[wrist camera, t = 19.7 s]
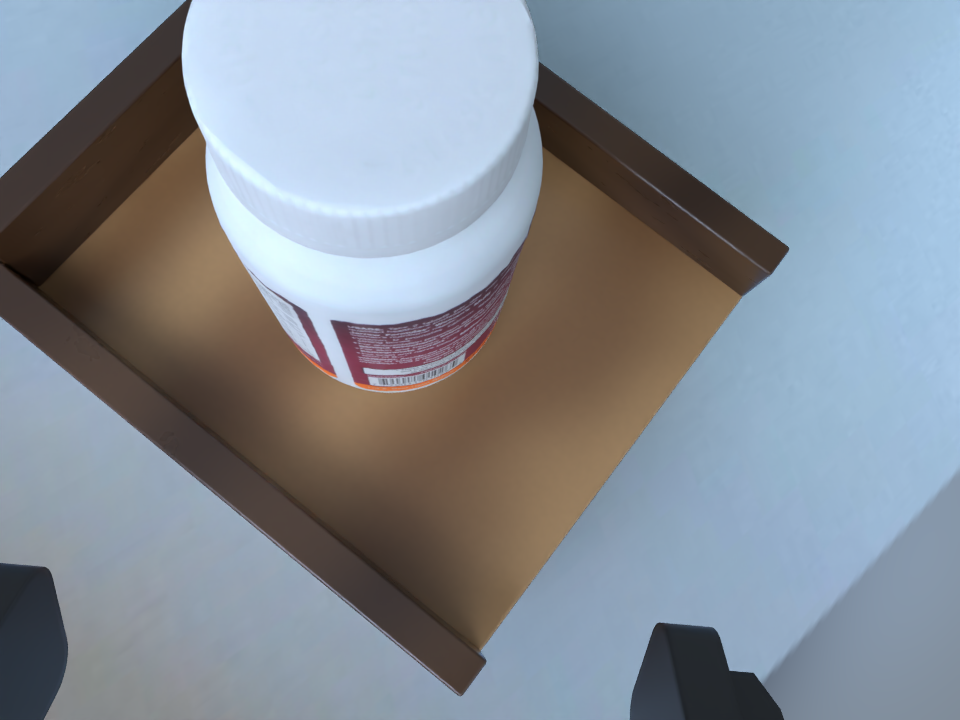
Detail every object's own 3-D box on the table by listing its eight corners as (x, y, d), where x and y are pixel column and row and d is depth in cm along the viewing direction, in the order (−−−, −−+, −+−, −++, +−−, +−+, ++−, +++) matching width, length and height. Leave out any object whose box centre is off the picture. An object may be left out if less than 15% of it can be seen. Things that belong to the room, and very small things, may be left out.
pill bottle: (535, 237, 23) (642, -38, 12) (446, 434, 22) (478, 323, 11) (337, 149, 24) (269, -199, 13) (236, 340, 22) (59, 136, 11)
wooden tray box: (667, 346, 32) (809, 233, 21) (444, 643, 29) (463, 706, 18) (353, 105, 34) (319, -129, 22) (107, 365, 31) (-83, 254, 19)
